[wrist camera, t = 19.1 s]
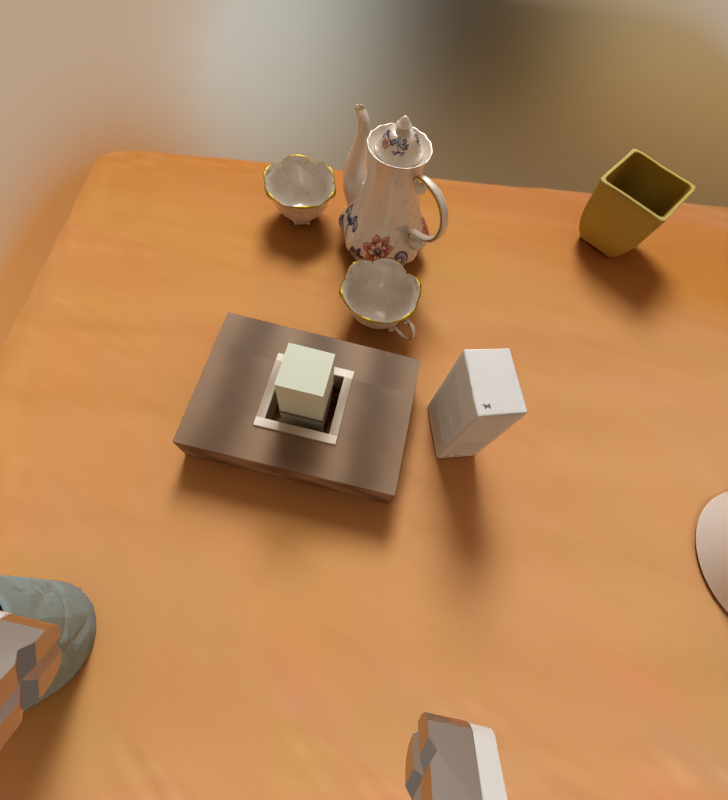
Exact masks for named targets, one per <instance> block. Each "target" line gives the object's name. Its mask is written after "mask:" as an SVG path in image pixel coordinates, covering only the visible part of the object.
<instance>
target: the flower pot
mask: <svg viewBox="0 0 728 800" xmlns="http://www.w3.org/2000/svg"><path fill="white" fill-rule="evenodd" d="M694 190H695V186H694V185H693V184H691V183H690V182H688V181H687V180H685V179H683V178H681V177H680V176H678V175H677V174H675V173H674V172H672V171H670V170H668V169H667V168H665V167H663V166H662V165H661V164H659V163H658V162H656V161H655V160H653V159H652V158H650V157H649V156H647V155H645V154H644V153H642V152H641V151H639V150H637V149H633V150H632V151H631V152H630V153H629V154H628V155H627V156H625V157H624V158H623V159H622V160H621V161H620V162H619V163H617V164H616V165H615V166H614V167H613V168H612V169H610V170H609V171H608V172H607V173H606V174H605V175H604V176H602V178H601V179H600V181H599V183H598V184H597V186H596V188H595V190H594V192H593V193H592V195H591V197H590V199H589V201H588V203H587V205H586V206H585V208H584V211H583V213H582V216H581V220H580V226H579V230H580V237H581V238H582V239H584V240H585V241H586V242H588V243H589V244H591V245H592V246H594V247H595V248H596V249H598V250H599V251H601V252H602V253H603V254H605V255H606V256H608V257H615V256H619V255H622V254H624V253H626V252H628V251H630V250H632V249H633V248H634V247H636V246H637V245H638V244H640V243H641V242H642V241H643V240H644V239H645V238H646V237H648V236H649V235H650V234H651V233H652V232H653V231H654V230H656V229H657V228H658V227H659V226H660V225H661V224H663V223H664V222H665V221H666V220H667V219H668V218H669V217H670V216H671V215H672V214H673V212H674V211H675V210H676V209H677V208H678V207H679V206H680V205H681V204H682V203H683V202H684V200H686V198H687V197H689V195H690V194H691V193H692V192H693V191H694Z"/></svg>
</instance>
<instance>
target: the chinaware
mask: <svg viewBox="0 0 728 800" xmlns="http://www.w3.org/2000/svg"><path fill="white" fill-rule="evenodd" d="M355 111H356V115H357V120H358V131H357V134H356V137H355V140H354V143H353V145H352V148H351V150H350V152H349V155H348V157H347V160H346V163H345V167H344V175H343V189H344V195H345V198H346V201H347V205H348V207H347V208H346V210H345V211H344V212H343V213H342V214H341V216H340V218H339V226H340V228H341V230H342V233H343V236H344V239H345V244H346V247H347V249H348V251H349V252H350V254H351V255H352V257H353V258H354V259H355V260H356V261H354V262H353V263H352V264H351V265H350V266H349V268H348V269H347V272H346V275H345V280H343V282H342V283H341V286H340V291H339V295H340V297H341V298H342V299H343V301H344V303H345V304H346V305H347V306H348V307H349V309H350V311H351V313H352V314H353V316H354V317H355V319H356V320H357V321H359V322H360V323H361V324H363V325H365V326H367V327H369V328H373V329H377V330H379V329H386V328H388V331H389V332H392V331H394V330H395V331H396V332H397V333H398V334H399V335H400V336H401V337H402V338H403V339H405V340H412V339H413V338H414V337H415V333H416V331H415V326H414V325H413V323H412V322H411V321H410V320H409V318H410V317H411V316H412V315H413V313H414V311H415V310H416V306H417V304H416V303H417V302H418V300H419V297H420V294H421V283H420V282H419V281H418V279H417V278H416V277H415V276H414V275H411V274H410V273H407V271H406V269H405V268H404V266H405V265H406V264H407V263H409V262H411V261H412V260H414V258H415V257H416V255H417V253H418V251H421V250H422V249H423V248H424V246H425V245H426V242H429V243H430V242H435V241H437V240H438V239H440V238H441V237H442V236H443V234H444V233H445V231H446V228H447V225H448V209H447V204H446V201H445V198H444V196H443V194H442V192H441V191H440V189H439V188H438V187H437V185H436V184H435V183H434V182H433V181H432V180H431V179H429V178H428V177H427V176H425V175H422V170H423V168H424V166H425V164H426V162H427V161H428V160H429V159H430V157H431V155H432V153H433V150H432V144H431V141H430V140H429V139H428V138H427V136H426V135H425V134H424V133H422V132H420V131H419V130H418V129H416V128H415V127H412V124H411V123H410V121H409V118H408V117H407V116H406V115H405V116H403V117H401V119H400V120H398V121H397V122H396V124H395V123H388V124H386V125H379V126H378V127H377V128H376V129H374V130H372V131H371V132H370V121H369V117H368V114H367V111H366V109H365V107H364V106H363V105H362V104H356V105H355ZM368 149H369V153H370V163H369V169H368V172H367V154H368ZM420 180H421V181H422V183H420ZM264 183H265V187H264V188H265V192H266V195H267V197H268V198H269V199H271V200H273V202H274V204H275V206H276V207H277V209H278V210H279V211H280V212H281V213H282V214H283V215H284V216H286V217H287V218H289V219H291V220H292V221H293V222H294V223H295V225H297V224H309V225H310V221H311V220H313V219H315V218H316V217H318V216H319V215H320V214H321V213H322V212H323V211H324V209H325V208H326V206H327V204H328V201H329V200H330V199H332V198H333V197H334V196H335V194H336V186H335V184H334V183H335V181H334V173H333V171H332V169H331V167H330V166H328V165H326V164H325V163H315V164H314V162H313V161H312V160H310V159H309V158H308V157H306V156H303V155H299V154H295V155H291V156H288V157H287V158H285V159H284V160H283V161H282V162H281V164H280V163H271V164H270V165H268V166H266V167H265V170H264ZM427 188H428V189H429V190H430V192H431V193H432V195H433V196H434V198H435V200H436V202H437V205H438V208H439V213H440V226H439V229H438V232H437V233H436V234H435V235H434V236H429V230H428V227H427V224H426V222H425V220H424V217H423V215H422V212H421V209H420V203H419V194H421V195H422V194H424V193H425V191H426V190H427ZM403 320H404V324H407V323H408V324H409V326H410V329H411V334H412V335H411V337H408V336H406V335H404V334H403V333H402V332H401V331H400V330H399V329H398V328H397V327H396V326H395V325H396V324H397V323H399V322H400V321H403Z"/></svg>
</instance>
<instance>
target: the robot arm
mask: <svg viewBox="0 0 728 800" xmlns="http://www.w3.org/2000/svg"><path fill="white" fill-rule="evenodd" d="M696 548H697V555H698V559H699V563H700V566H701V569H702V572H703V575H704V577H705V579H706V581H707V583H708V585H709V587H710V589H711V591H712V592H713V594H714V595H715V597H716V598H717V600H718V601H719V603H720V604H721V605H722V606H723V608H724V609H725V610H726V611H727V612H728V491H726V492H724V493H722V494H720V495H718V496H716V497H715V498H713V499H712V500H711V501H710V502H709V503H708V504H707V505H706V506H705V508H704V509H703V511H702V513H701V515H700V517H699V520H698V524H697V529H696ZM60 637H61V633H60V626H59V625H55V624H51V623H47V622H43V621H39V620H35V619H31V618H27V617H23V616H19V615H15V614H12V613H8V612H4V611H0V749H1V748H2V747H3V745H4V744H5V743H6V742H7V740H8V739H9V738H10V737H11V735H12V734H13V733H14V732H15V730H16V729H17V728H18V726H19V725H20V724H21V723H22V716H23V709H24V708H26V707H28V706H29V705H31V704H33V703H35V702H36V701H38V700H40V698H41V697H42V696H43V694H44V693H45V692H46V691H47V689H48V688H49V687H50V685H51V683H52V682H53V680H54V678H55V676H56V674H57V672H58V670H59V667H60V664H61V660H62V651H61V649H60V648H59V647H58V646H57V644H56V641H57V640H58V639H59V638H60ZM418 730H419V731H418V732H416V733H414V734H413V735H412V737H411V740H410V742H409V746H408V751H407V757H406V770H405V786H406V788H407V790H408V792H409V794H410V796H411V798H412V800H508V797H507V792H506V787H505V782H504V777H503V773H502V768H501V763H500V758H499V753H498V748H497V743H496V738H495V734H494V732H493V730H492V729H491V728H489V727H487V726H482V725H478V724H473V723H469V722H467V721H463V720H458V719H454V718H449V717H444V716H440V715H435V714H431V713H426V712H424V713H423V714H421V716H420V719H419V721H418Z"/></svg>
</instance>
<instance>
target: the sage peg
mask: <svg viewBox="0 0 728 800" xmlns="http://www.w3.org/2000/svg"><path fill="white" fill-rule="evenodd" d="M334 366H335V354H333V353H329V352H325V351H321V350H317V349H313V348H309V347H305V346H301V345H297V344H293V343H288V346H287V349H286V352H285V355H284V357H283V360H282V363H281V366H280V369H279V372H278V375H277V378H276V380H275V383H274V387H275V391H276V396H277V400H278V405H279V413H280V414H281V418H282V423H286V424H290V425H294V426H298V427H302V428H307V429H311V430H315V431H319V432H323V430H324V426H325V423H326V419H327V416H328V412H329V408H330V405H331V401H332V390H333V385H334V382H333V378H334Z"/></svg>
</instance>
